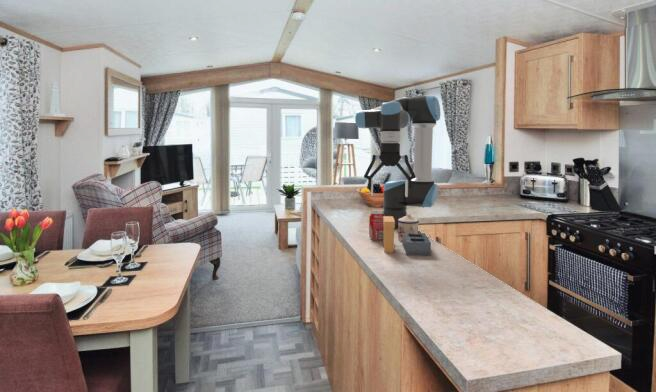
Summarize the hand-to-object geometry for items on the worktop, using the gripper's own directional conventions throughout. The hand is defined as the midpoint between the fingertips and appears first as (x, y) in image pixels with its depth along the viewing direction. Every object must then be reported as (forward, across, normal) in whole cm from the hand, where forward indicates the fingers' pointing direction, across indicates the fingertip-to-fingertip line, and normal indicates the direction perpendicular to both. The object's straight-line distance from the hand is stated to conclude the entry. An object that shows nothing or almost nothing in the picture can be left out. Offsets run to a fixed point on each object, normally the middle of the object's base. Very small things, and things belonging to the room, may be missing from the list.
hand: (389, 196), depth 175 cm
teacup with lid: (+22, +10, +16) cm, 29 cm away
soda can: (+22, -4, +18) cm, 29 cm away
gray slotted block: (+22, +11, 0) cm, 24 cm away
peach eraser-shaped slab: (+22, 0, 0) cm, 22 cm away
